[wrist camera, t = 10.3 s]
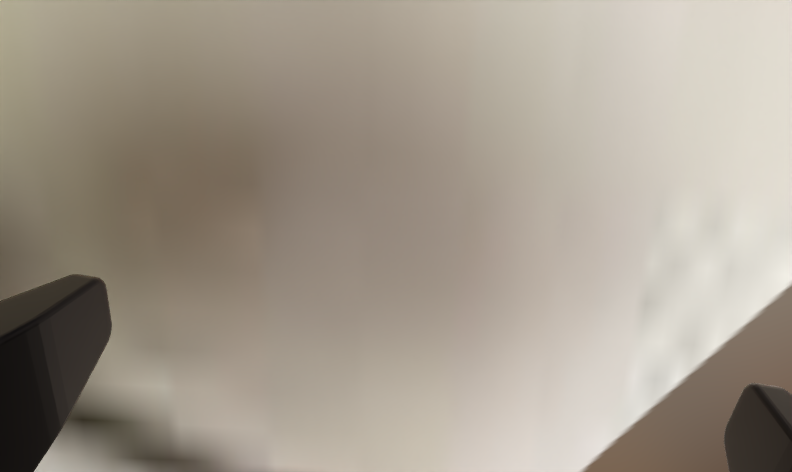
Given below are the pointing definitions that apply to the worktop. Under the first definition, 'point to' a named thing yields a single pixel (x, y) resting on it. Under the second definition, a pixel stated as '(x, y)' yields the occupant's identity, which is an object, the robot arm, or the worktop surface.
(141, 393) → the worktop surface
